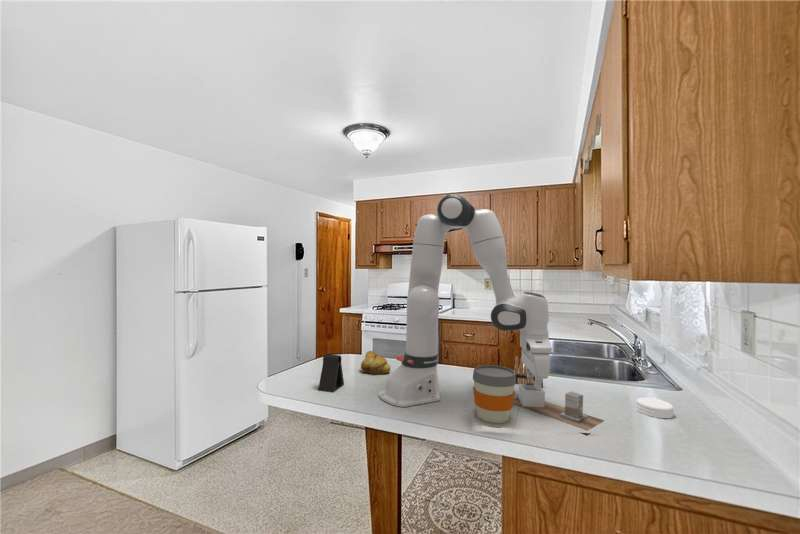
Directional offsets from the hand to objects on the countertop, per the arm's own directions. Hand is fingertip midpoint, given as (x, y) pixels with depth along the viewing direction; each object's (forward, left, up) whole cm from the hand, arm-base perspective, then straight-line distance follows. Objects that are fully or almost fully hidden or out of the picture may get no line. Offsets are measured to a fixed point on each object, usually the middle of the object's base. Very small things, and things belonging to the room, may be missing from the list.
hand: (533, 383), depth 121 cm
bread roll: (-20, +61, -8) cm, 65 cm away
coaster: (+29, -25, -8) cm, 40 cm away
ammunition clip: (+15, +12, -8) cm, 21 cm away
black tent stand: (-45, +55, -8) cm, 71 cm away
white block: (-1, +1, -6) cm, 6 cm away
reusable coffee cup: (-20, +2, -8) cm, 21 cm away
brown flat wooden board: (-1, -7, -8) cm, 11 cm away
